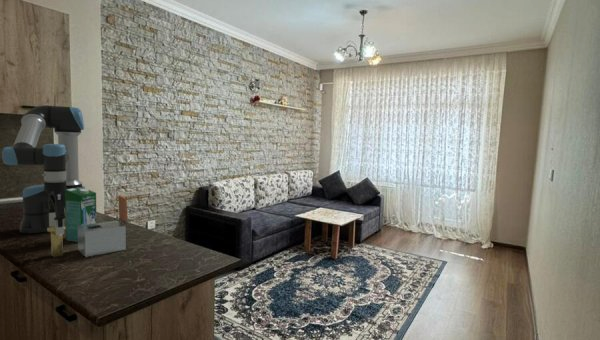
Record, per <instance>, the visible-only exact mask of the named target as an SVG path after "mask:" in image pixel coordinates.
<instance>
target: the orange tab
mask: <svg viewBox="0 0 600 340" xmlns="http://www.w3.org/2000/svg"><path fill="white" fill-rule="evenodd" d="M117 197H118V214H119V215H118V220H119V222H120V223H122V224H123V225H129V221H128V203H127V200H128V199H127V197H126V196H123V195H121V194H118V196H117Z"/></svg>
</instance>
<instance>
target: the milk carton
mask: <svg viewBox="0 0 600 340" xmlns="http://www.w3.org/2000/svg"><path fill="white" fill-rule="evenodd" d="M64 212H65V226H66V230H65V235H66V236H65V240H66V241H70V242H75V243H76V242H77V243H78V226H80V225H87V224H94V223H98V222H97V220H98V219H97V192H95V191H93V190H90V189H87V188H86V187H85V188H82V187H77V188H71V189H66V190H65V208H64Z"/></svg>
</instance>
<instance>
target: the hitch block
mask: <svg viewBox="0 0 600 340" xmlns="http://www.w3.org/2000/svg"><path fill="white" fill-rule="evenodd" d="M126 227H127V226H126V224H124V223H123V222H121V221H120V220H119V221H118V220H110V221H102V222H97V223H94V224H87V225H80V226H78V242H77V251H79V252H80V253H81V254H82V256H83V257H84V256H85V258H90V257H94V255H95V256H99V255H104V254H105V255H106V254H110V253H115V252H120V251H124V250H126V249H127V246H126V244H127V242H126V241H127V240H126V238H127V235H126V234H127V233H126V232H127V231H126V229H127V228H126ZM89 256H90V257H89Z"/></svg>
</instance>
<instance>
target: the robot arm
mask: <svg viewBox="0 0 600 340" xmlns="http://www.w3.org/2000/svg"><path fill="white" fill-rule="evenodd" d="M20 124H21V126H20V129H19V131H18V133H17V135H16V138H15V140H14V143H13V146H6V147H3V149H2V152H1V158H2V161H3V164H5V165H8V166H9V165H10V166H33V165H34V166H43V173H42V174H41V176H42V177H43V181H44V182H43V184H36V185H31V186H30V185H29V186H27V187H25V188H24V189H23V190H22V196H21V197H22V208H23V209H22V210H23V217H22V219H21V222H20V225H19V233H22V234H39V233H46V232H48V231H47V228H48V227H50V226H55V225H56V235H62V234H63V235H65V230H64V225H65V219H66V211H65V190H66V189H71V188H77V187H82V188H85V189H86V186H84V185H83V182H82V181H80V180H79V179H80V177H79V140H78V139H79V137H78V136H80V134H82V131H83V130H85V123H84V117H83V113H82V110H81V109H80V108H79V107H75V106H73V107H72V106H59V105H48V104H47V105H44V104H43V105H38V106H35V107H33V108H31V109H29V110H28V111H27V112H25V113H24V114H23V115H22V118H21V120H20ZM44 129H53V130H54V133H55V134H56V135H57V143H46V144H45V143H44V144H43V146H42V147H37V145H38V142H39V138H40V136H41V134H42V131H44Z"/></svg>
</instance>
